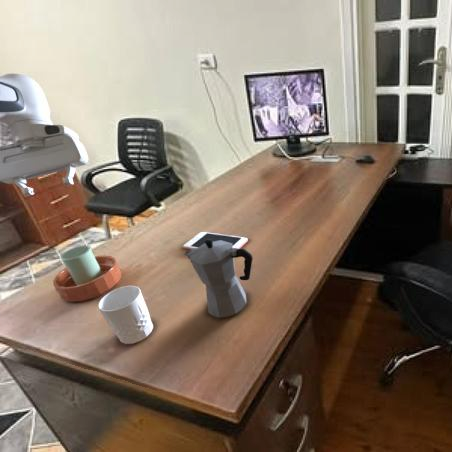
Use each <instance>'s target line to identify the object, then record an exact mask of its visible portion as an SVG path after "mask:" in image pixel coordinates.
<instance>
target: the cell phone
mask: <svg viewBox="0 0 452 452" xmlns="http://www.w3.org/2000/svg"><path fill="white" fill-rule="evenodd" d="M207 239H212V242H214V241H219V240H222V241H225V242H229V243H232V247H233V248H238V249H242V247H243V246H244V245H246V243H248V241H249V240H248V238H247V237H242V236H237V235H228V234H221V233H215V232H214V233H213V232H208V231H207V232H206V231H200V232H199V233H198V234H196V235H195V236H193V238H191V239H190V240H188V241H187V242H186V243H185V244H183V245H182V247H183V249H188V250H191V249H195V248H198V247H200V246H201V245H203V244H205V240H207Z"/></svg>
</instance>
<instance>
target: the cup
mask: <svg viewBox="0 0 452 452" xmlns="http://www.w3.org/2000/svg"><path fill="white" fill-rule="evenodd" d="M60 259H61V261H62V263H63V264H64V266H65V268H67V270H68V271H69V273H70V275H71V277H72V278H73V280H74V282H75V284H76V286H78V285H82V284H85V283H88V282H90V281H93V280H95V279H97V278H99V277H100V276H102V275H103V272H102V270H101V268H100V266H99V264H98V262H97V260H96V258H95V255H94V253H93V250H92V249H91V246H89V245H80V246H79V245H78V246H76V247H72V248H70V249H68V250H66V251H64V252H63V253H62V254H61V256H60Z"/></svg>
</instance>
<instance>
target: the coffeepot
mask: <svg viewBox="0 0 452 452" xmlns="http://www.w3.org/2000/svg"><path fill="white" fill-rule="evenodd" d="M183 256H185V257H187V258H188V259H189V261H190V264H191V265H192V267H193V268H194V271H195V272H196V274H197V276H198V278H199V280H200V281H201V283H202V284H204V285H205V293H206V301H207V311H208V314H210V315H211V316H213V317H216V318H220V319H221V318H229V317H232V316H234V315H237V314H238V313H239V312H241V311H242V310H243V309H244V308H245V306H246V305H247V294H246V292H245V290H244V288H243V287H242V284H241V282H240V281H249V280H250V279H251V271H252V264H253V260H254V259H253V258H254V257H253V255H252V253H250V252H249V250H247V249H246V248H240V249H238V248H233V247H232V243H229V242H225V241H222V240H219V241H214V242H212V239H207V240H205V244H203V245H201V246H200V247H198V248H195V249H188V250H186V251H185V252H184V254H183ZM236 258H243V259H244V261H243V262H244V263H243V265H244V268H243V274H244V275H243V276H242V275H241V276H237V275H236V267H235V259H236ZM238 277H239V278H238Z"/></svg>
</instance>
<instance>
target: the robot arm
mask: <svg viewBox="0 0 452 452" xmlns="http://www.w3.org/2000/svg"><path fill="white" fill-rule="evenodd" d="M0 123H1V124H6V125H7V126H8V129H9V131H10V135H11V139H12V143H11V144H7V145H4V146H0V182H1V183H4V184H7V185H8V184H9V185H10V184H15V186H17V187H18V188H20V189H21V192H22V195H23V196H24V197H31V196H34V195H35V192H34V188H32V187H30V186H27V185H26V184H28V182H27V180H31V179H35V178H38V177H42V176H47V175H51V174H54V173H58V172H62V171H66V173H65V177H62V178H61V180H62V181H63V185H64V186H66V187H69V186H73V185H74V184H75V183H74V179H73V178H74V177H75V174H76V168H78V167H82V166H85V165H87V164H88V163H89V156H88V153H87V150H86V148H85V146H84V144H83V142H81V141H79V140H80V137H79V134H78V133H76V132H75V131H74V130H72V129H71V128H69V127H67V126H64V125H62V124H54V123H53V122H52V120H51V109H50V106H49V104H48V100H47V98H46V95H45V92H44V90H43V89H42V87H41V85H40V84H39V83H38V82H37V81H36V80H34V79H33V78H32V77H30V76H27V75H25V74H20V73H13V72H12V73H5V74H3V75H1V76H0Z"/></svg>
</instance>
